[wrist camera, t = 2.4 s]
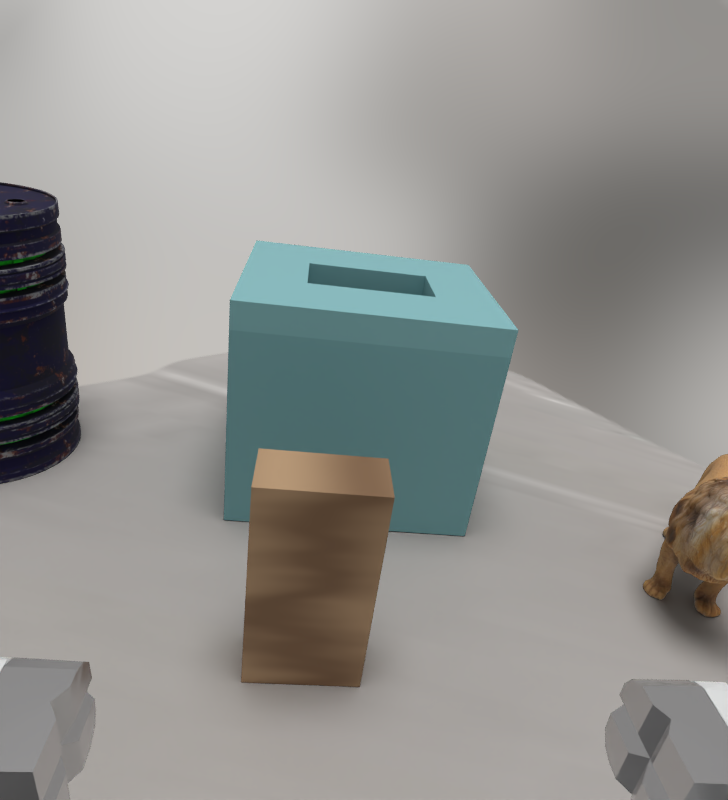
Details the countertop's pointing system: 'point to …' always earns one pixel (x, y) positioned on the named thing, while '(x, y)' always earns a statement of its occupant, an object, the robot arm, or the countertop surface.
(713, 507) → the lion figurine
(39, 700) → the robot arm
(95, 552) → the countertop surface
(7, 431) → the storage jar
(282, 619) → the block
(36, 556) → the countertop surface
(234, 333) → the money box
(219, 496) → the countertop surface
